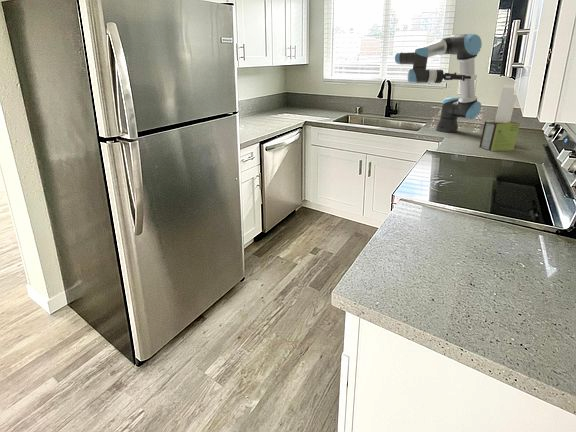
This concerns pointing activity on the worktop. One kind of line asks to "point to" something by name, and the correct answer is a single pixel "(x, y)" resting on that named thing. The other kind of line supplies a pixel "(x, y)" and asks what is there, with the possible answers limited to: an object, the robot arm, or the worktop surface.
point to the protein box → (499, 136)
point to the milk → (506, 103)
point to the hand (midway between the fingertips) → (471, 76)
